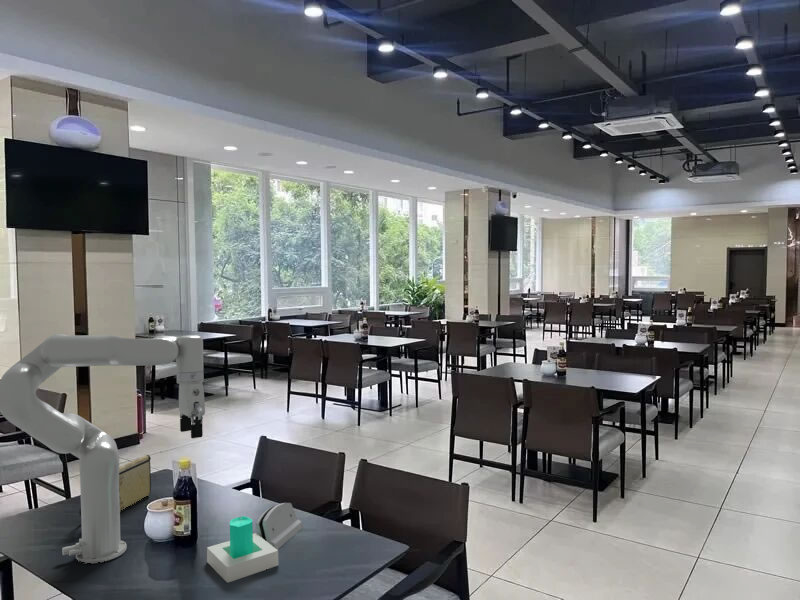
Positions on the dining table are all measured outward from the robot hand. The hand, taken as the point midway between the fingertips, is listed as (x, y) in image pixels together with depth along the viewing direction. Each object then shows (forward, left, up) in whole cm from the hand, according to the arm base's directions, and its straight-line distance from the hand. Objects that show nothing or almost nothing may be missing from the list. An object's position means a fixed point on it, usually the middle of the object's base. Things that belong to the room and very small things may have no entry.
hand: (191, 434), depth 171 cm
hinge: (+19, -18, -31) cm, 40 cm away
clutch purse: (-13, +35, -31) cm, 49 cm away
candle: (+4, -27, -29) cm, 40 cm away
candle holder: (+4, -27, -30) cm, 41 cm away
